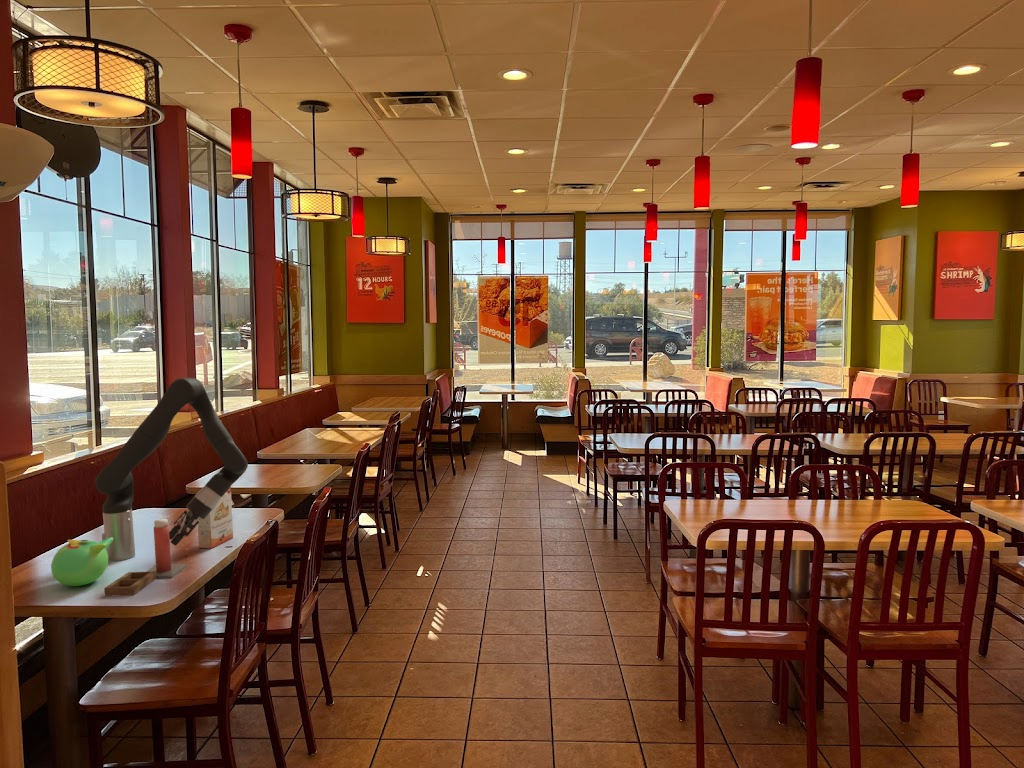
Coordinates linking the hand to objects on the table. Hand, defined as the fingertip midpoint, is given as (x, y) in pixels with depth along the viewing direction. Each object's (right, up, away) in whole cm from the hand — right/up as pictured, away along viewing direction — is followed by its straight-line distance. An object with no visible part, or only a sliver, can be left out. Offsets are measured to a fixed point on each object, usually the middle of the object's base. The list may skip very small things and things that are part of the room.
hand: (170, 541), depth 239 cm
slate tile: (-2, -10, -1) cm, 11 cm away
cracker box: (+3, -8, +31) cm, 32 cm away
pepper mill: (-2, -10, -1) cm, 10 cm away
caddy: (-6, -12, -14) cm, 19 cm away
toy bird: (-24, -12, -9) cm, 28 cm away
